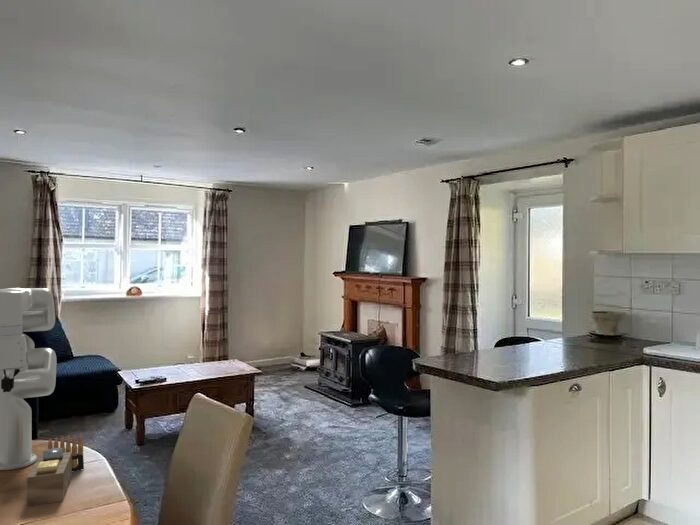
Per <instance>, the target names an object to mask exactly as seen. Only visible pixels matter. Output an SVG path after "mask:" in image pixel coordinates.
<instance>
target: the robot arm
mask: <svg viewBox="0 0 700 525" xmlns="http://www.w3.org/2000/svg"><path fill="white" fill-rule="evenodd" d="M55 324H56V310H55V299H54V294H53V293H52V291H51V290H50V289H48V288H45V287H36V288H35V287H33V288H32V287H30V288H29V287H28V288H26V287H25V288H24V287H23V288H21V287H9V288H0V471H10V470H11V471H12V470H18V469H21V468H25V467H28V466H31V465H32V464H35V463H36V461H37V459H38V456H37V455H36V454H34V453H32V448H33V447H32V430H33V427H32V426H33V424H32V420H33V418H32V412H33V411H32V407H31V406H30V404H29V403H28V402H27V401H26V400H24V399H27V398H38V397H39V398H40V397H46V396H50V395H51V394H53V393H54V390H55V388H56V382H57V379H56V378H57V363H58V362H57V355H56V351H55V350H54V349H52V348H50V347H38V348H37V347H36V348H35V346H36V345H35V342H34V340H33V339H32V338H31V337H30V336H28V335H27V334H25V333H24V332H45V331H51V330H52V329H53V328H54V326H55Z"/></svg>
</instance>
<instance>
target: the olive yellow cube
mask: <svg viewBox="0 0 700 525" xmlns="http://www.w3.org/2000/svg"><path fill="white" fill-rule="evenodd" d="M58 467H59V460H52V461H43V462H40V463H39V465H38V467H37V474H38V473H47V472H55V471H57V469H58Z"/></svg>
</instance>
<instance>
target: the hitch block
mask: <svg viewBox="0 0 700 525" xmlns="http://www.w3.org/2000/svg"><path fill="white" fill-rule="evenodd" d="M65 452H66V451H65ZM40 462H43V454H41V455H40V454H39V456H38V457H37V460H36V461H35V462H34V465H33V467H32V468H31V470H30V472H29V473H28V475H27V478H26V481H27V482H26V506H27V507H31V506H36V505H37V506H38V505H43V504H51V503H59V502H63V501H64V500H65V497H66V494H67V492H68V488H69V486H70V483H71V481H72V477H73V472H72V451H71V452H66V453H63V459H61V460H59V467H58V469H57V471H55V472H47V473H38V474H37V467H38V465H39V463H40ZM70 480H71V481H70Z"/></svg>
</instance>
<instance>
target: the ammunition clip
mask: <svg viewBox="0 0 700 525" xmlns="http://www.w3.org/2000/svg"><path fill="white" fill-rule="evenodd" d="M72 436H73V437H72V443H71V437H70V435H69V434H68V435H67V436H66V442H65V438H64V435H62V436H61V438H60V441H59V439H58V437H57V436H56V437H54V441H53V442H54V443H53V442H52V439H51V437H49V439H48V443H47V450H48V449H52V448H62V449H63V453H66V452H72V471H74V472H78V471H77V470H79V471H82V470H81V469H84V470H85V465H84V464H85V462H84V443H83V435H82V433H81V432H80V433H79V436H78V442H77V435H76V434H73V435H72ZM59 443H60V444H59ZM71 445H72V446H71Z"/></svg>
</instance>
